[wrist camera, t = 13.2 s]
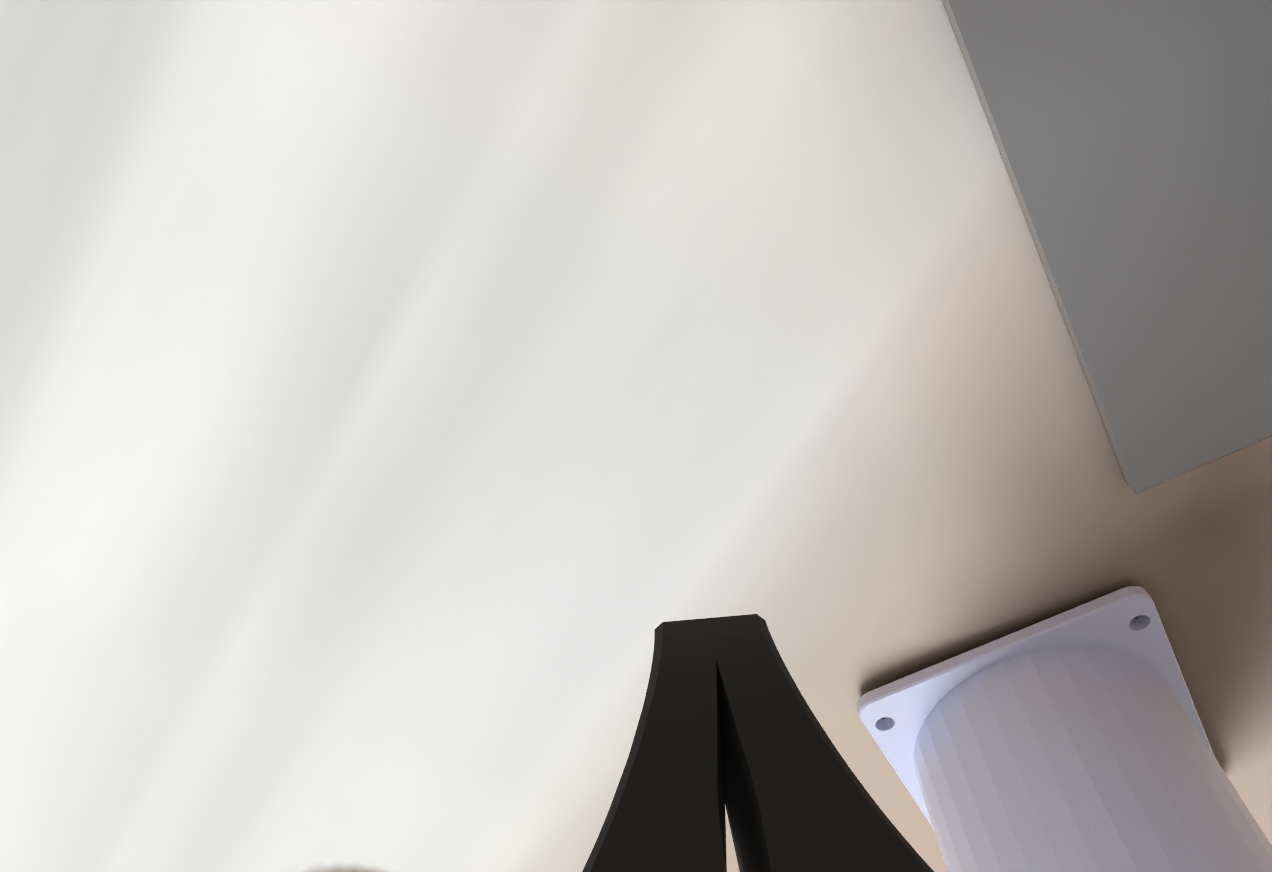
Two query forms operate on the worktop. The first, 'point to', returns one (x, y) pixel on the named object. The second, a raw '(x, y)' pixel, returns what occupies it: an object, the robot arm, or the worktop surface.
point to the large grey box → (1145, 204)
